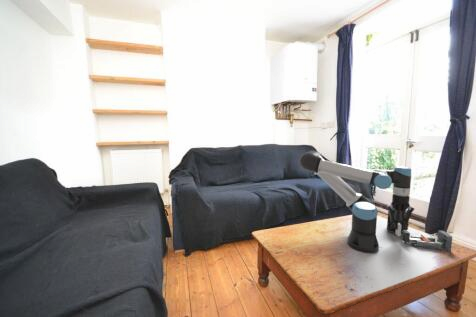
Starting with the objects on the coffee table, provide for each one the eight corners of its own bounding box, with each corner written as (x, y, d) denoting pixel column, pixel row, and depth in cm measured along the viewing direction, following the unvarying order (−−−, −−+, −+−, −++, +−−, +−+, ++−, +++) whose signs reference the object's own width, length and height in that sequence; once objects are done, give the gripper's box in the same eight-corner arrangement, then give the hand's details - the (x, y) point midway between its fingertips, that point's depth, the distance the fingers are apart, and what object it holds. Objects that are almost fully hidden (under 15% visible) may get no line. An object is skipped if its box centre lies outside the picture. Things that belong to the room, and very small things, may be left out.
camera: (407, 237, 127) (409, 213, 125) (386, 232, 133) (388, 209, 131) (407, 230, 135) (409, 208, 133) (387, 226, 141) (388, 204, 140)
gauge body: (414, 247, 116) (416, 233, 115) (408, 240, 122) (409, 227, 121) (450, 251, 111) (452, 236, 110) (442, 244, 118) (443, 230, 117)
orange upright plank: (426, 246, 114) (427, 240, 114) (419, 240, 121) (419, 234, 120) (430, 246, 114) (430, 240, 113) (422, 240, 120) (423, 234, 120)
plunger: (404, 242, 118) (405, 232, 117) (401, 239, 122) (402, 229, 121) (422, 244, 116) (422, 234, 115) (418, 241, 119) (419, 231, 119)
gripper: (390, 195, 116) (387, 236, 118) (418, 197, 112) (415, 239, 115) (384, 192, 123) (382, 230, 126) (411, 193, 119) (408, 233, 122)
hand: (398, 234), depth 120 cm, fingers closed
